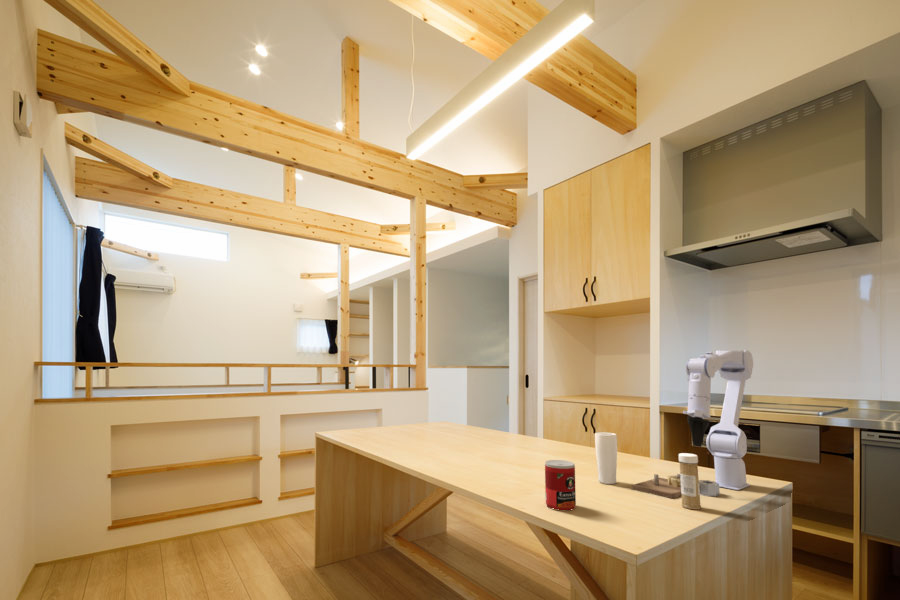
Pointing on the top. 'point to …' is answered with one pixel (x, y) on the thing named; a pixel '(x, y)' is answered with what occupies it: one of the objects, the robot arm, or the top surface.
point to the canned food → (560, 484)
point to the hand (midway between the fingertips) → (697, 445)
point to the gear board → (661, 486)
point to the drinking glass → (606, 456)
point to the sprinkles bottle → (689, 481)
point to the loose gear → (709, 488)
